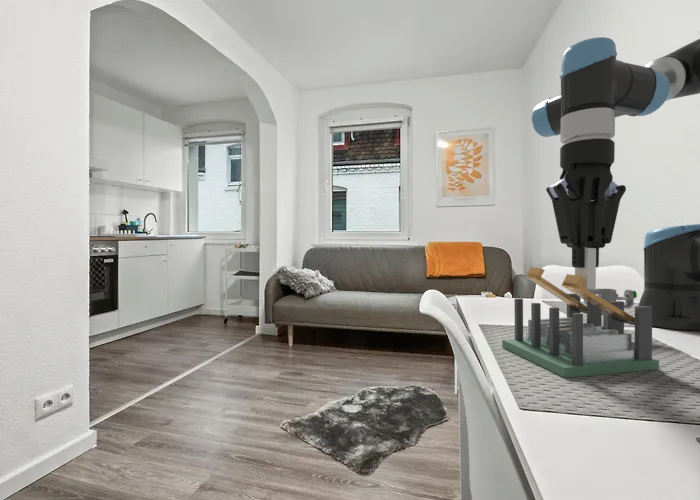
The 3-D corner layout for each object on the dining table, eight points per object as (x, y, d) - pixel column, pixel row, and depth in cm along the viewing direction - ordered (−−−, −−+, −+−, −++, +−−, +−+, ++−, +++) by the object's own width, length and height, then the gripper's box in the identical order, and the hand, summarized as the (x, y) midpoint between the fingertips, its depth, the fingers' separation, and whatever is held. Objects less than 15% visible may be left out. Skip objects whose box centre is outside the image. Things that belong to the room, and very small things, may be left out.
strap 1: (577, 312, 77) (583, 301, 77) (591, 315, 73) (597, 304, 73) (524, 277, 75) (530, 266, 75) (536, 279, 71) (542, 268, 71)
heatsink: (567, 336, 77) (567, 316, 77) (634, 359, 62) (634, 334, 62) (526, 339, 76) (526, 319, 76) (585, 363, 61) (585, 338, 61)
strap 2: (621, 322, 67) (627, 310, 67) (640, 327, 63) (646, 314, 63) (559, 286, 65) (565, 273, 65) (575, 289, 61) (582, 276, 61)
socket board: (579, 341, 79) (579, 334, 79) (659, 369, 62) (659, 359, 62) (502, 347, 76) (502, 339, 76) (564, 377, 59) (564, 368, 59)
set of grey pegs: (577, 335, 78) (577, 293, 78) (652, 359, 62) (652, 306, 62) (514, 339, 76) (514, 296, 76) (576, 365, 60) (576, 311, 60)
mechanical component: (638, 338, 80) (638, 290, 80) (583, 337, 82) (583, 290, 82) (631, 335, 83) (631, 288, 83) (578, 333, 85) (578, 288, 85)
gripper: (603, 149, 68) (601, 284, 68) (535, 146, 65) (534, 286, 66) (642, 138, 60) (640, 289, 61) (567, 134, 58) (565, 292, 59)
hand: (584, 287), depth 63 cm, fingers closed
